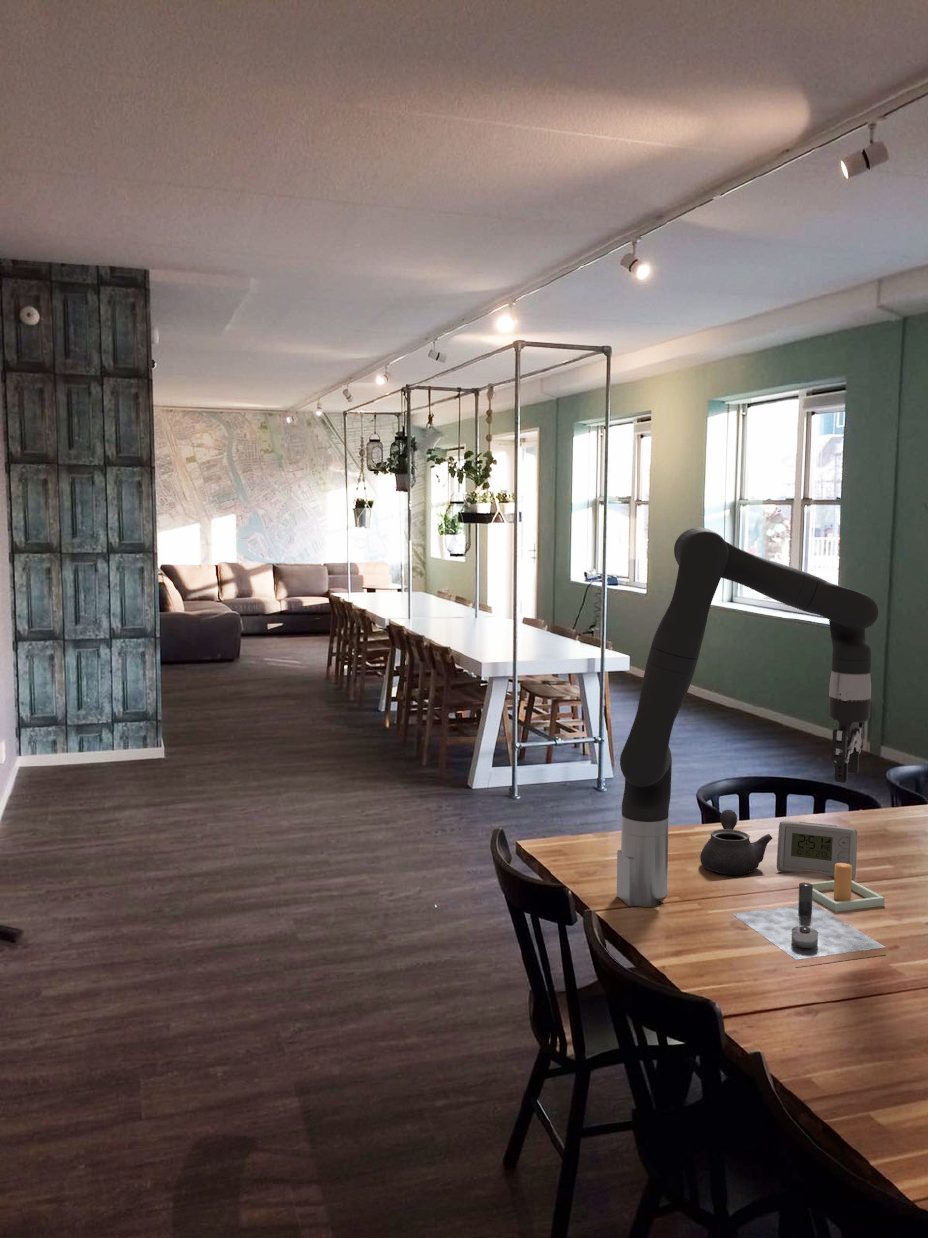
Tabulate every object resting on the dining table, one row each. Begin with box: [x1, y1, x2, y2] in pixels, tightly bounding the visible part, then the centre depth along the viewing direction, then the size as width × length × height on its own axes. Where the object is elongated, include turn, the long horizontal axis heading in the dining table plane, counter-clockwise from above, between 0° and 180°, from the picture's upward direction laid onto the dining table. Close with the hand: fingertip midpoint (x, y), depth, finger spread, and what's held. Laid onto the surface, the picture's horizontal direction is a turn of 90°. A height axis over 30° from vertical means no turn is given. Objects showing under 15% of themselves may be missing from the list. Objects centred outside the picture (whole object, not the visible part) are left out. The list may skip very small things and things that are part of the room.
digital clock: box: [776, 820, 858, 881], centre depth 221 cm, size 16×9×11 cm, turn 56°
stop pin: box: [833, 863, 852, 902], centre depth 203 cm, size 3×3×8 cm
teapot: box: [699, 809, 774, 876], centre depth 228 cm, size 19×15×10 cm
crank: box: [791, 882, 818, 948], centre depth 187 cm, size 16×4×7 cm, turn 162°
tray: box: [809, 879, 886, 913], centre depth 204 cm, size 11×11×3 cm
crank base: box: [731, 903, 887, 969], centre depth 188 cm, size 18×21×2 cm
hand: (846, 777), depth 201 cm, fingers open, 8 cm apart
